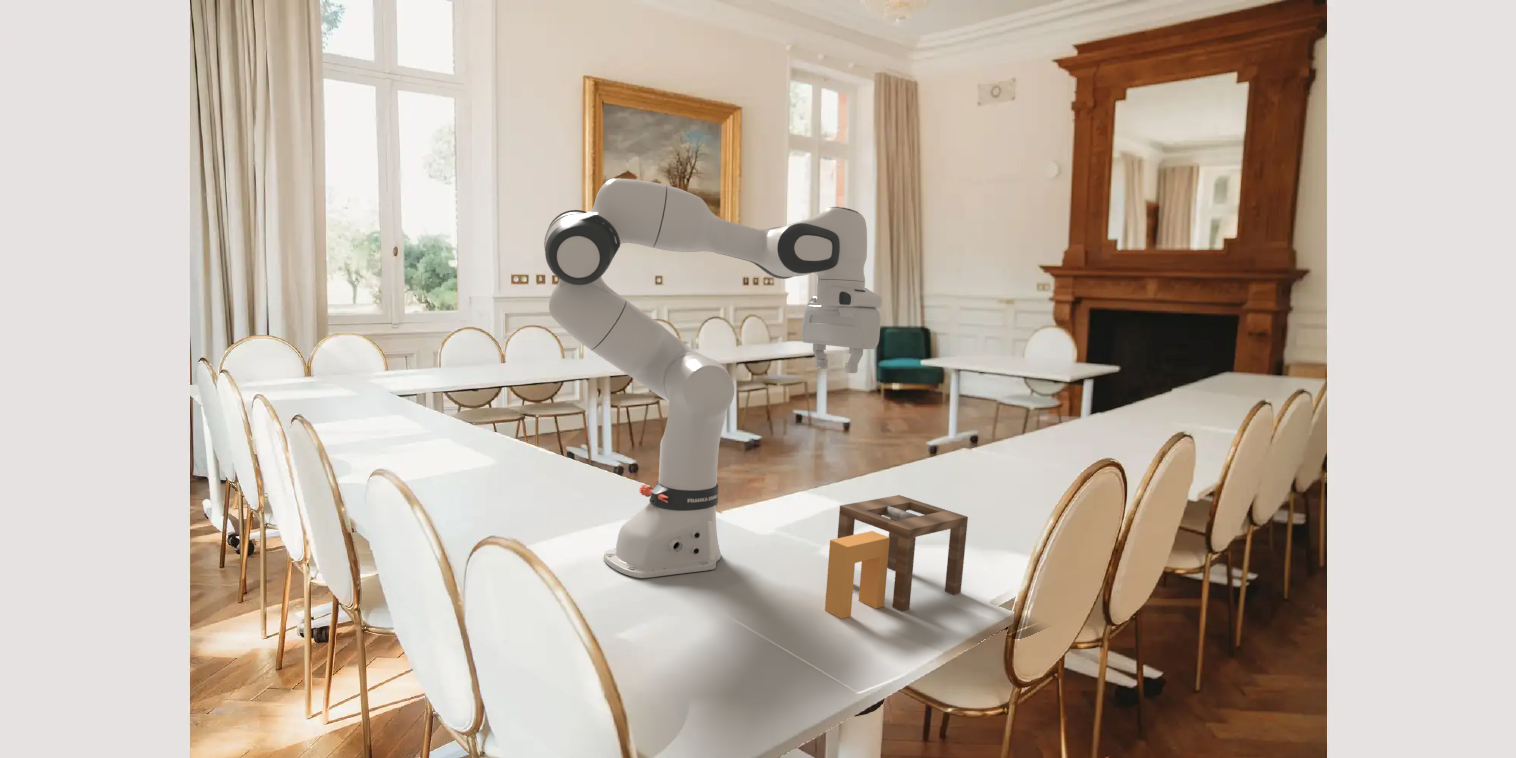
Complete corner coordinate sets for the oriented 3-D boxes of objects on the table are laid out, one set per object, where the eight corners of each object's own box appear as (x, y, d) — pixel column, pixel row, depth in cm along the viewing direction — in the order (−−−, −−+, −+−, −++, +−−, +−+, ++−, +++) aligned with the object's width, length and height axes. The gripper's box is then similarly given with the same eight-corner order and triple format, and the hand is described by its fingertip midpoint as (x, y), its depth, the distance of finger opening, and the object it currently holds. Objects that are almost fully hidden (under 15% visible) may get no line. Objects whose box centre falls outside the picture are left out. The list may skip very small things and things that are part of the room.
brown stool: (901, 611, 137) (908, 529, 135) (834, 580, 149) (839, 505, 147) (960, 592, 147) (967, 516, 145) (893, 565, 159) (899, 495, 158)
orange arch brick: (842, 618, 132) (847, 547, 131) (824, 610, 135) (830, 539, 134) (884, 606, 139) (889, 537, 137) (866, 598, 142) (872, 530, 140)
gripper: (795, 295, 160) (791, 365, 162) (859, 296, 143) (855, 375, 144) (822, 296, 164) (818, 365, 165) (888, 298, 146) (883, 375, 147)
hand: (835, 370), depth 154 cm, fingers open, 8 cm apart
